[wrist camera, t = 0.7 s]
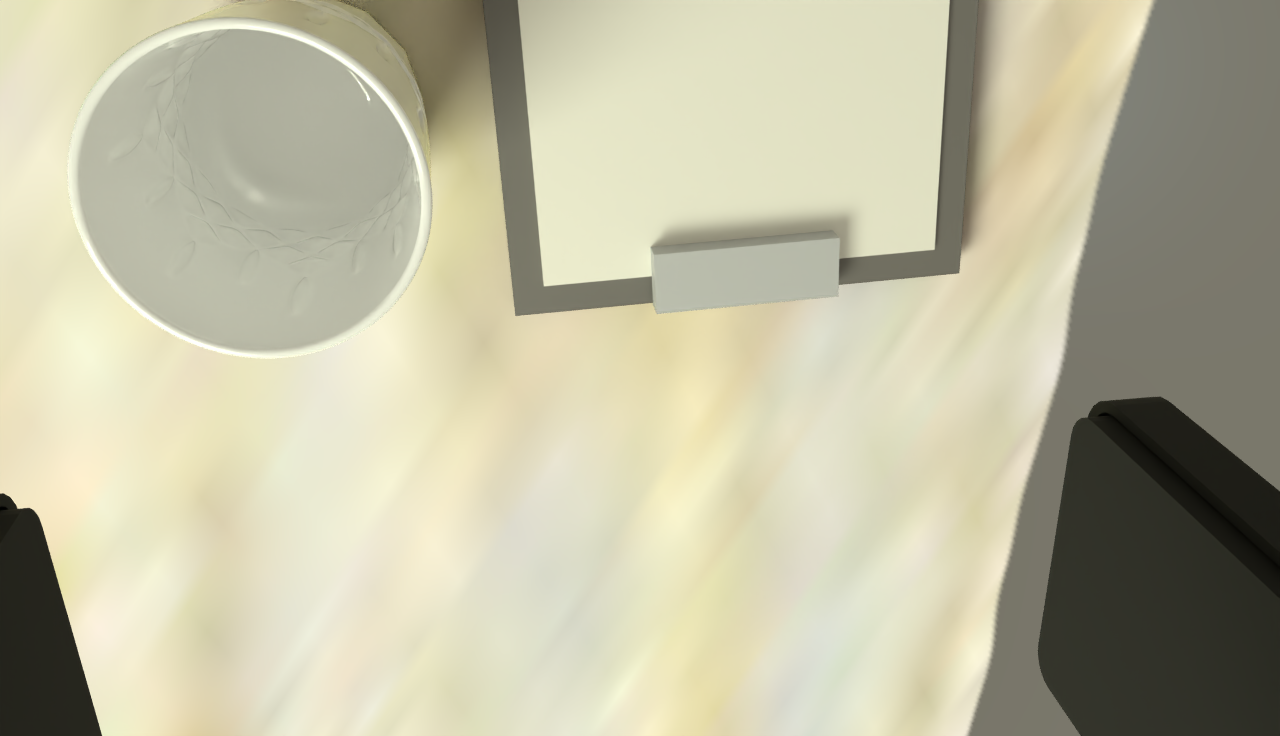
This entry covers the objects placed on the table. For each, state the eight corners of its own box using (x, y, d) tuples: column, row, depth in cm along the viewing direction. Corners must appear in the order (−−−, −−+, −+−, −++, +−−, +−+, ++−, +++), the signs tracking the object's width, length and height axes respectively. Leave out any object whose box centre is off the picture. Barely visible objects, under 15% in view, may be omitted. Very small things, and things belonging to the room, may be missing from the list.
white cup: (343, -83, 33) (294, -55, 24) (491, 151, 36) (497, 253, 27) (116, 59, 34) (-15, 139, 25) (281, 275, 37) (219, 415, 28)
